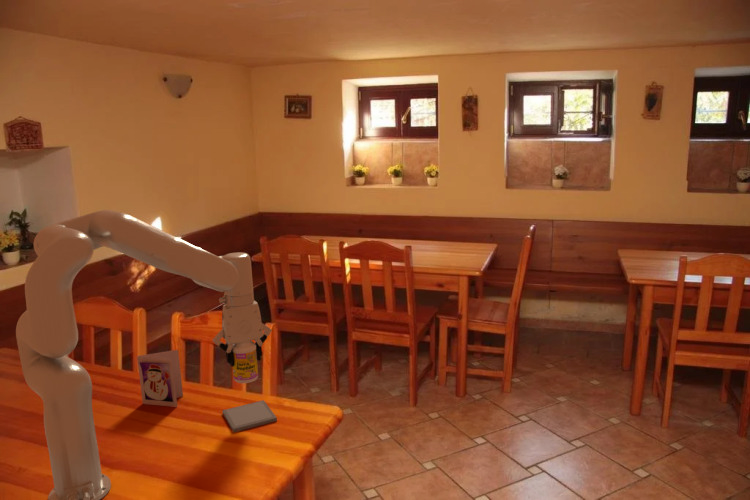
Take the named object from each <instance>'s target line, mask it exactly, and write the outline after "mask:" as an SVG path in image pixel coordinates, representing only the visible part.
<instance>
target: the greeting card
mask: <svg viewBox="0 0 750 500" xmlns="http://www.w3.org/2000/svg"><path fill="white" fill-rule="evenodd" d="M136 360H137V367H138V375H139V376H138V377H139V383H140V384H139V385H140V393H141V399H142V404H143V405H153V406H165V407H175V408H178V399H177V398H182V397H184V393H183V392H184V391H183V383H182V374H181V366H180V356H179V349H174V350H166V351H161V352H156V353H155V352H153V353H148V354H141V355H137V356H136Z"/></svg>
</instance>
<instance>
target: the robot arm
mask: <svg viewBox="0 0 750 500" xmlns="http://www.w3.org/2000/svg"><path fill="white" fill-rule="evenodd" d="M102 247H106V248H108V249H111V250H114V251H116V252H118V253H121V254H123V255H125V256H128V257H130V258H132V259H135V260H137V261H139V262H142V263H145V264H147V265H149V266H151V267H153V268H155V269H157V270H161V271H164V272H167V273H171V274H174V275H178V276H182V277H185V278H188V279H190V280H192V281H193V282H194V283H195V284H196V285H199V286H202V287H205V288H208V289H212V290H215V291H217V292H221V293H224V294H223V296H222V297H219V300H218V301H219V304H224V305H222V314H221V315H222V316H221V328H222V329H221V330H219V331H218V332H217V334H216V335H215V337H214V338H212V343H213V344H215V345H216V346H218V348H220V349H222V350H223V351H224V352H225V357H226V363H227V364H229V365H230V367H232V368H233V366H234V357H233V352H232V347H233V344H236V343H241V342H246V341H255V342H254V343H255V344H256V352H257V361H261V360H262V358H261V357H263V352H262V351H263V350H262V349H263V347H262V346H263V345H264V343H265V341H266V340H267V339H268V336H269V335H271V332H272V328H270V327H269V326H267V325H266V324H264V323H262V316H261V311H260V306H259V304H258V302H257V301H256V300H255V296H254V284H253V283H254V281H253V272H252V259H251V258H252V257H251V255H249V253H246V252H239V251H238V252H230V253H226V254H224V255H219V256H218V255H216V254H214V253H211V252H209V251H207V250H205V249H202V248H201V247H199V246H195V245H193V244H191V243H189V242H188V241H186V240H184V239H182V238H179V237H177V236H174V235H173V234H171V233H168V232H165V231H164V230H161V229H160V228H157V227H156V226H154V225H151V224H149V223H147V222H145V221H143V220H141V219H139V218H137V217H135V216H133V215H131V214H128V213H125V212H120V211H116V210H111V209H105V210H104V209H102V210H98V211H95V212H91V213H86V214H84V215H80V216H77V217H73V218H70V219H65V220H63V221H59V222H56V223H53V224H50V225H48V226H46V227H44V228H42V229H41V230H40V231H38V233H37V234H36V235H35V237H34V241H33V250H34V252H35V254H36V256H37V257H36V258H35V260H34V262H33V263H32V265H31V266H30V267H29V269H28V271H27V274H26V277H25V282H24V295H25V296H24V297H25V303H26V304H25V305H26V310H25V311H24V312H23V313H22V314H21V315H20V317H19V318H18V321H17V324H16V328H15V338H16V344H17V349H18V354H19V359H20V365H21V369H22V374H23V377H24V380H25V382H26V384H27V386H28V387H29V388H30V389H31V390H32V391H33V392H35V393H36V395H38V396H39V397H40V398H41V400H42V404H43V424H44V425H43V426H44V433H45V438H46V443H47V449H48V454H49V462H50V467H51V473H52V478H53V485H54V486H53V487H54V488H52V489H51V491H50V492H49V494H48V497H47V500H102V499H103V498H104V497H105V496H106V495H107V494H108V493H109V491H110V489H111V487H112V484H111V483H112V482H111V479H110V477H109V476H108V475H106V474H103V473H102V467H101V460H100V453H99V447H98V441H97V434H96V433H97V432H96V426H95V421H94V413H93V401H92V400H93V399H92V398H93V383H92V378H91V376H90V374H89V372H88V371H87V370H86V368H85V367H83V366H82V365H81V364H80V363H78V362H77V361H76V360H75V359H72V358H71V357H69V355H70V354H71V353H72V352H73V351H74V350H75V348H76V347H77V344H78V342H79V330H78V323H77V318H76V314H75V313H76V312H75V308H74V306H75V305H74V301H73V290H72V289H73V282H74V280H75V279H76V276H77V275H78V274H79V272H80V271H81V270H82V269H84V267H86V266H87V265H88V263H89V262H90V261H91V259H92V257H93V255H94V251H95V250H97V249H101V248H102ZM222 338H223V339H224V341H225V343H224V342H222V341H221V339H222Z"/></svg>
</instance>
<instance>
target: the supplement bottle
mask: <svg viewBox="0 0 750 500" xmlns="http://www.w3.org/2000/svg"><path fill="white" fill-rule="evenodd" d="M232 352H233V357H234V366H232V375H233V380H234V382H236V383H238V384H248V383H253V382H254V381H257V379H258V378H259V368H258V360H257V352H256V344H255V342H254V341H253V340H251V341H246V342H241V343H236V344H233V347H232Z"/></svg>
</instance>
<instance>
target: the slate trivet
mask: <svg viewBox="0 0 750 500" xmlns="http://www.w3.org/2000/svg"><path fill="white" fill-rule="evenodd" d="M274 413H275V412H274V411H272V410H271V408H270V407H269V405H268V404H267V403H266V401H265V400H264V399H263V400H258V401H255V402H251V403H248V404H244V405H243V404H242V405H239V406H235V407H232V408H228V409H226V408H225V409H222V415H223V416H224V418H225V420H226V421H227V423H228V425H229V427H230V429H231V431H232V432H233V433H236V432H240V431H244V430H248V429H252V428H256V427H259V426H263V425H266V424H267V425H268V424H271V423H273V422H277V421H278V417H277V416H276V415H275V414H274Z"/></svg>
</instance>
